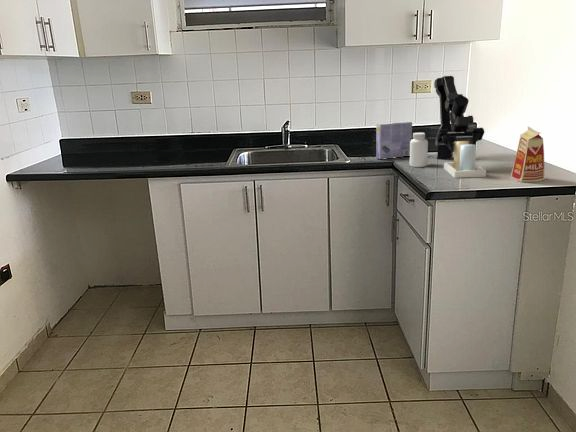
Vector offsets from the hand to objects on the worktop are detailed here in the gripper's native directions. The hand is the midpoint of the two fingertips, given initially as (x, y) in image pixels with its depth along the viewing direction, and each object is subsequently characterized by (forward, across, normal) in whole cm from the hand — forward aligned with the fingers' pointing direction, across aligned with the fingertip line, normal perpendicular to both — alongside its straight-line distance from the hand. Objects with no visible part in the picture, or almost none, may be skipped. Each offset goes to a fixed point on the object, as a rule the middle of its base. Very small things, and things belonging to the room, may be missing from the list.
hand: (462, 150), depth 207 cm
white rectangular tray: (+9, 0, +4) cm, 10 cm away
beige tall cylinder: (+5, 0, +7) cm, 8 cm away
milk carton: (+20, +20, -7) cm, 29 cm away
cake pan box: (-23, -23, +36) cm, 49 cm away
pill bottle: (-6, -15, +19) cm, 25 cm away
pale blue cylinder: (+11, 0, +1) cm, 11 cm away
